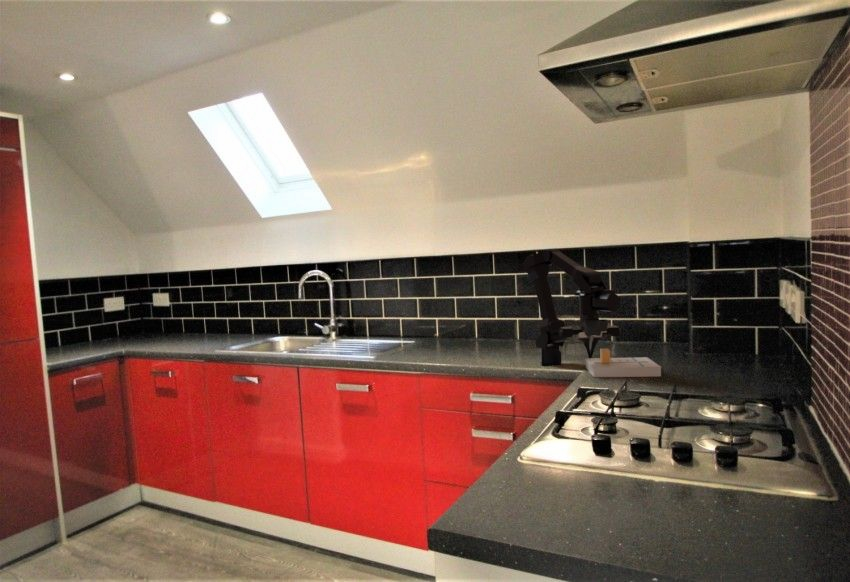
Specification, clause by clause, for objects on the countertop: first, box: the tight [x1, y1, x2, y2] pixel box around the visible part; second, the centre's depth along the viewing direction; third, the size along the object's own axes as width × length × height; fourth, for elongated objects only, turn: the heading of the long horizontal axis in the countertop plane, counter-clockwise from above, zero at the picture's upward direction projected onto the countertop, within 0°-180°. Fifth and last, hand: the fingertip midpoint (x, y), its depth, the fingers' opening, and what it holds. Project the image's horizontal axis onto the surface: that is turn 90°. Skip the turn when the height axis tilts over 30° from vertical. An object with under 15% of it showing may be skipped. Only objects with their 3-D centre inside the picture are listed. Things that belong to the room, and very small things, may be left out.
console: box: [584, 356, 662, 378], centre depth 189 cm, size 20×16×3 cm
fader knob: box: [599, 348, 611, 363], centre depth 189 cm, size 2×4×6 cm, turn 174°
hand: (590, 358), depth 190 cm, fingers closed
